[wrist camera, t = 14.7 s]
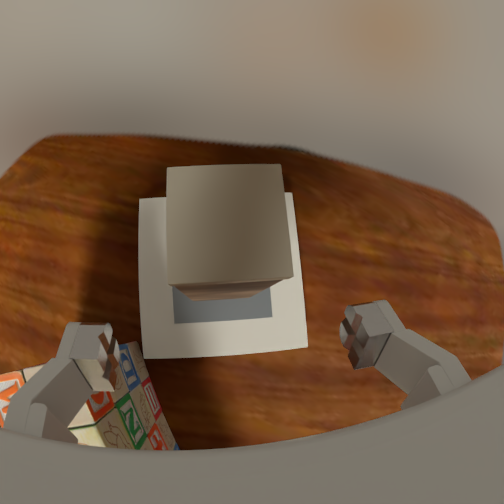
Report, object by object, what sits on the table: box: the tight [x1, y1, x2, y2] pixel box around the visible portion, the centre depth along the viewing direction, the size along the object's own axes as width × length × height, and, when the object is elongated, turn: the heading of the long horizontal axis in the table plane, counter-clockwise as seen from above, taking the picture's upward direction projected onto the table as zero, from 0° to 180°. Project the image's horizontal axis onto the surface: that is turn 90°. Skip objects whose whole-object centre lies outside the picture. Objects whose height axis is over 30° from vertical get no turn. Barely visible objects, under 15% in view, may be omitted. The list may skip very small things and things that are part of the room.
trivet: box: [138, 193, 308, 359], centre depth 23 cm, size 12×12×2 cm
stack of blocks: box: [0, 341, 180, 450], centre depth 14 cm, size 21×6×12 cm, turn 19°
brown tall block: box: [166, 164, 294, 301], centre depth 16 cm, size 4×4×12 cm
